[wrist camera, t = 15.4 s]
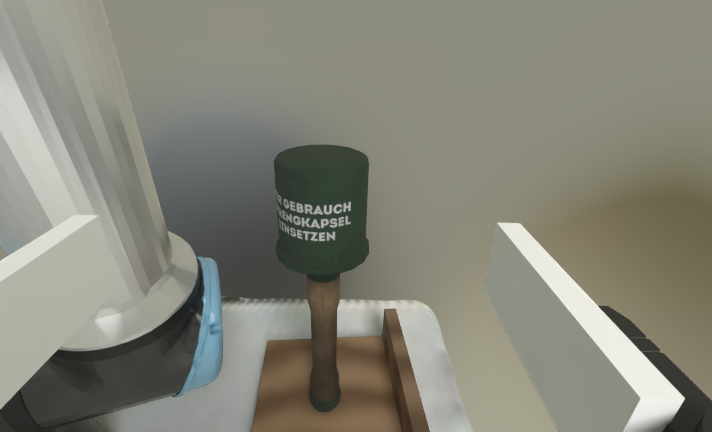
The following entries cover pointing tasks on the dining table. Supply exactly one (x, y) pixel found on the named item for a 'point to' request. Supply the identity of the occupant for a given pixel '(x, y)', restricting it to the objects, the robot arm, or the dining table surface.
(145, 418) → the dining table surface
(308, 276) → the stick grenade
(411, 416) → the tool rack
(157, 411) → the dining table surface
